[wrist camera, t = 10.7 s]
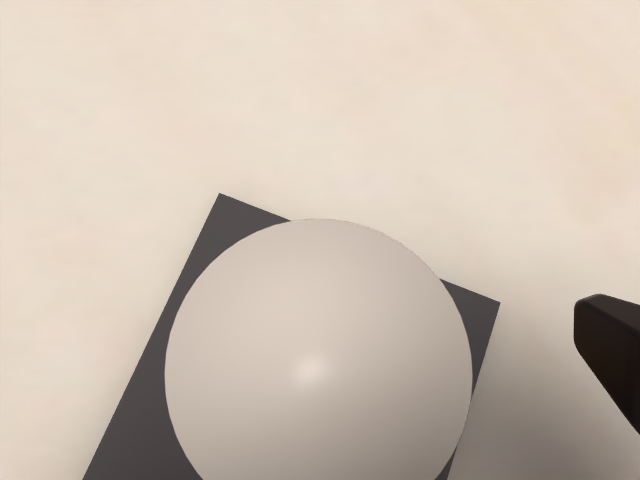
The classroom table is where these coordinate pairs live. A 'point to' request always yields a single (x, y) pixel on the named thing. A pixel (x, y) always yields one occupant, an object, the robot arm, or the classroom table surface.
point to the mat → (149, 376)
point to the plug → (318, 360)
